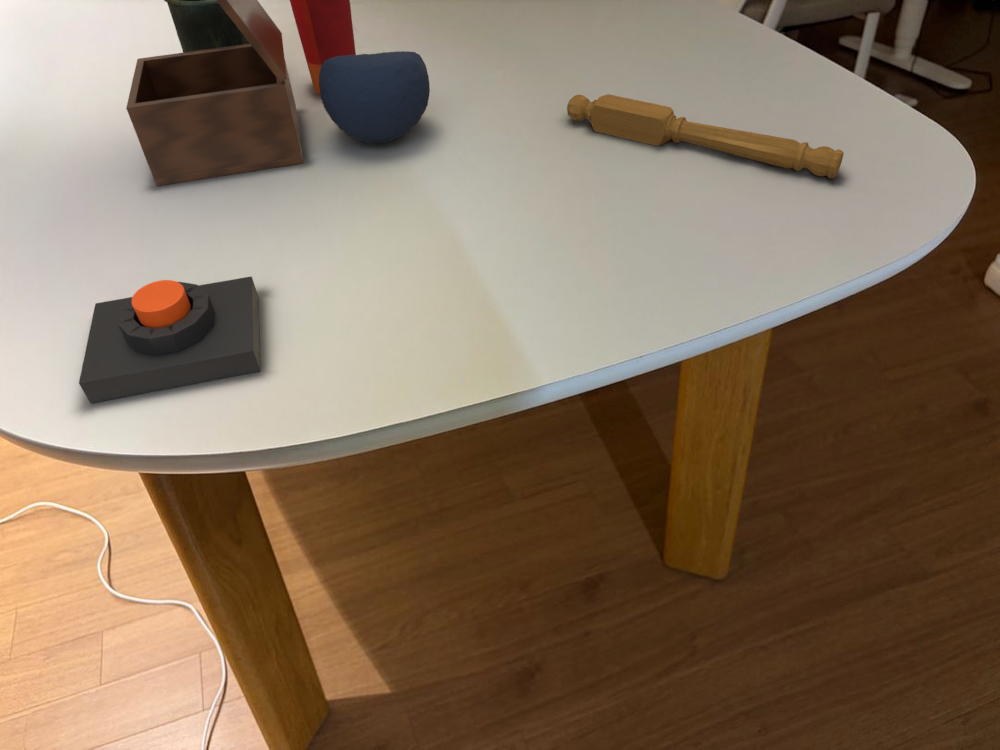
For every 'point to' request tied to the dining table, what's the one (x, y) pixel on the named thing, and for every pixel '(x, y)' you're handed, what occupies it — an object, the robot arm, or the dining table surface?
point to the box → (212, 114)
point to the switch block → (173, 343)
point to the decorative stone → (375, 93)
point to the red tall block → (323, 32)
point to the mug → (203, 25)
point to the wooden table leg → (698, 133)
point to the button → (161, 303)
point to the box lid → (258, 32)
